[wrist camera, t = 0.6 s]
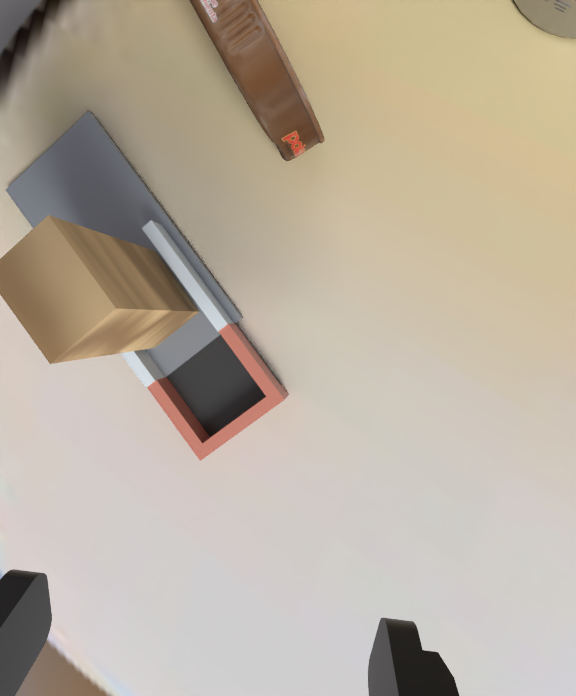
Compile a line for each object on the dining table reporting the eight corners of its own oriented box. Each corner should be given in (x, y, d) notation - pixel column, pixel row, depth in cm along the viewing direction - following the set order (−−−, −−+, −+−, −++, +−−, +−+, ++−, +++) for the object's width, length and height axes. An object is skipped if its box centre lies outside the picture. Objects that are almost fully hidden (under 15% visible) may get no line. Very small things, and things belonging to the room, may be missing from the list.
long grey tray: (93, 114, 29) (74, 99, 27) (295, 389, 28) (291, 394, 26) (11, 191, 30) (-13, 183, 28) (202, 456, 29) (191, 466, 27)
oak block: (154, 250, 28) (48, 215, 18) (199, 311, 28) (116, 308, 18) (110, 288, 29) (-15, 273, 19) (154, 348, 29) (49, 363, 19)
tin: (332, 160, 27) (322, 90, 18) (288, 187, 27) (259, 130, 19) (219, -51, 27) (158, -216, 19) (177, -21, 27) (100, -168, 19)
